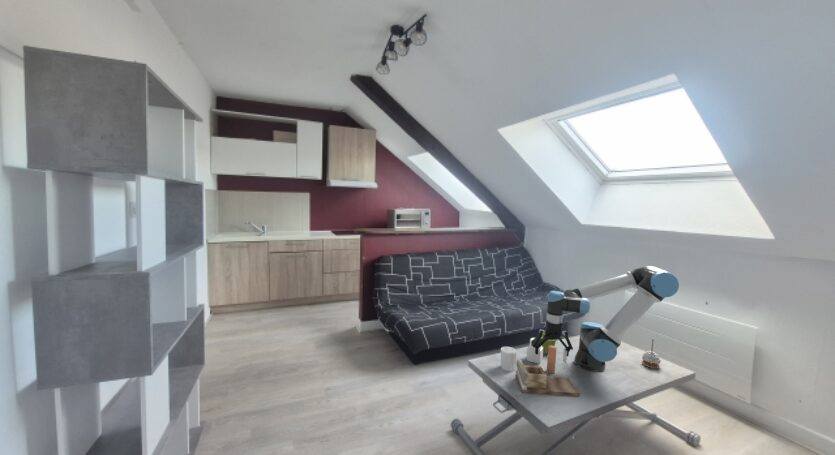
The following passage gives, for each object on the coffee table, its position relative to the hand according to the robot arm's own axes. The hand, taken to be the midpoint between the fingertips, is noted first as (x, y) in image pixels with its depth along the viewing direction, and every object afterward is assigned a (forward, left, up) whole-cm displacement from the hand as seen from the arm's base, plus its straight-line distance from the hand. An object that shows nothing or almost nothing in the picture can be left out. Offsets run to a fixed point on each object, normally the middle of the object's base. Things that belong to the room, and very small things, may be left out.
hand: (551, 361), depth 176 cm
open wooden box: (+13, +15, -4) cm, 20 cm away
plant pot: (-6, -24, -6) cm, 25 cm away
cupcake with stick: (-58, -13, -6) cm, 60 cm away
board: (+7, +15, -6) cm, 17 cm away
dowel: (0, 0, -6) cm, 6 cm away
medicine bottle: (+5, -12, -6) cm, 14 cm away
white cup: (+22, -1, -6) cm, 23 cm away
